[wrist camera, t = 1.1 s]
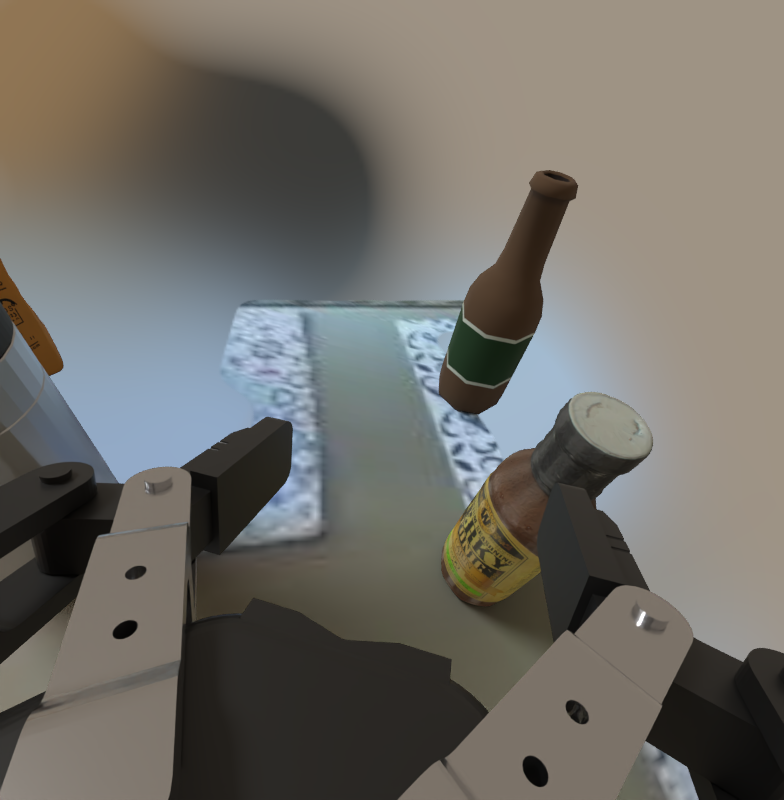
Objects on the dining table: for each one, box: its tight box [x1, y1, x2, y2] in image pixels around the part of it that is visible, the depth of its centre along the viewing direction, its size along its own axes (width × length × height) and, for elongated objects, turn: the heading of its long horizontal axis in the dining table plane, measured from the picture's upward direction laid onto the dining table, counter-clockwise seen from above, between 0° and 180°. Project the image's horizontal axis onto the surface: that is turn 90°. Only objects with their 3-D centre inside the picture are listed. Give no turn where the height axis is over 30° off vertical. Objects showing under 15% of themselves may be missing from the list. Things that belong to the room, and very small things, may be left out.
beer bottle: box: [439, 170, 578, 414], centre depth 39 cm, size 8×8×24 cm
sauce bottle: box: [441, 392, 653, 607], centre depth 25 cm, size 6×6×20 cm
